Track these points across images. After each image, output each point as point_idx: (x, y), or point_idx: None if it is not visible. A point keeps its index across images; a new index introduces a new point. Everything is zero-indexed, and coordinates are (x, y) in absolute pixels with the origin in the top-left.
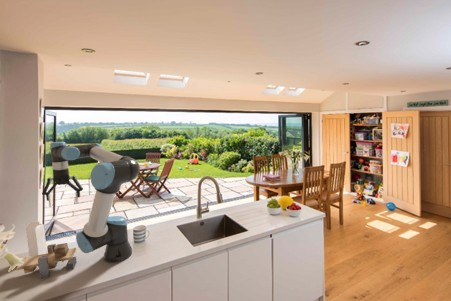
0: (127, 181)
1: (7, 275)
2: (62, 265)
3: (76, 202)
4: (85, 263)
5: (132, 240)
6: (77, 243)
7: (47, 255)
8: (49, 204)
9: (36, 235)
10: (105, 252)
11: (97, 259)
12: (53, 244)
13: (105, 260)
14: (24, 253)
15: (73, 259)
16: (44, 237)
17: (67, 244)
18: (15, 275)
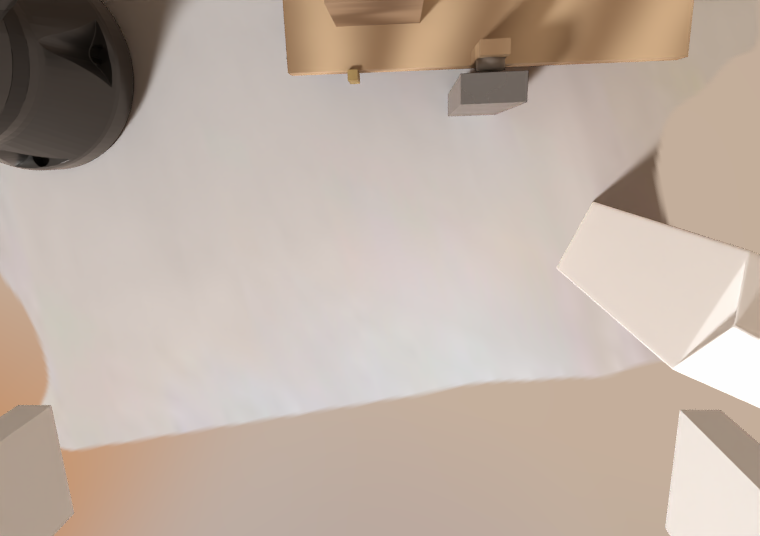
0: None
1: (750, 36)
2: None
3: (25, 418)
4: (246, 28)
5: (2, 274)
6: None
7: (502, 16)
8: (754, 448)
9: (692, 238)
10: (74, 18)
11: (177, 60)
12: (478, 96)
13: (110, 13)
14: None
15: None
16: (611, 303)
17: (326, 6)
18: (693, 16)
